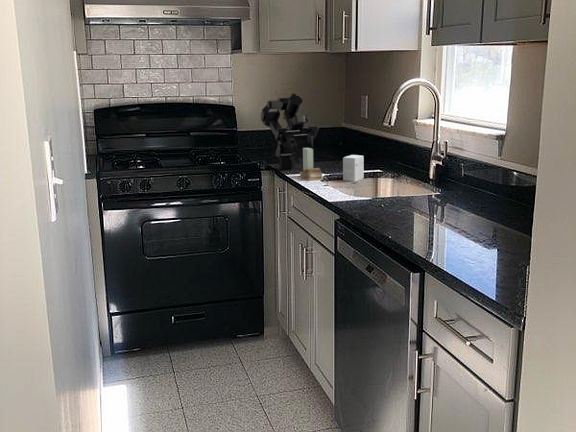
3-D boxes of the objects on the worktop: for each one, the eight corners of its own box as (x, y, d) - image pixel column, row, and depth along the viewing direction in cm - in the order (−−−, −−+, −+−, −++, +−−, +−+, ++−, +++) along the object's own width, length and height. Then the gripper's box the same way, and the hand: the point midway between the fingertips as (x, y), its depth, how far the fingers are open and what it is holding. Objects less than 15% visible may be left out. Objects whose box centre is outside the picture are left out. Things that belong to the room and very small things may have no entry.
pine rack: (297, 178, 277) (297, 166, 275) (312, 176, 279) (312, 165, 278) (308, 183, 266) (308, 170, 264) (323, 181, 268) (323, 169, 267)
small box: (352, 179, 272) (352, 154, 269) (363, 180, 269) (364, 155, 266) (342, 182, 265) (342, 157, 263) (354, 183, 262) (354, 158, 260)
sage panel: (303, 176, 276) (302, 148, 273) (308, 175, 277) (308, 147, 274) (307, 178, 271) (307, 149, 268) (313, 177, 272) (313, 149, 269)
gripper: (276, 109, 275) (286, 138, 267) (316, 107, 281) (327, 135, 273) (270, 126, 284) (280, 154, 276) (310, 123, 290) (320, 151, 283)
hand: (302, 148), depth 277 cm, fingers open, 9 cm apart
